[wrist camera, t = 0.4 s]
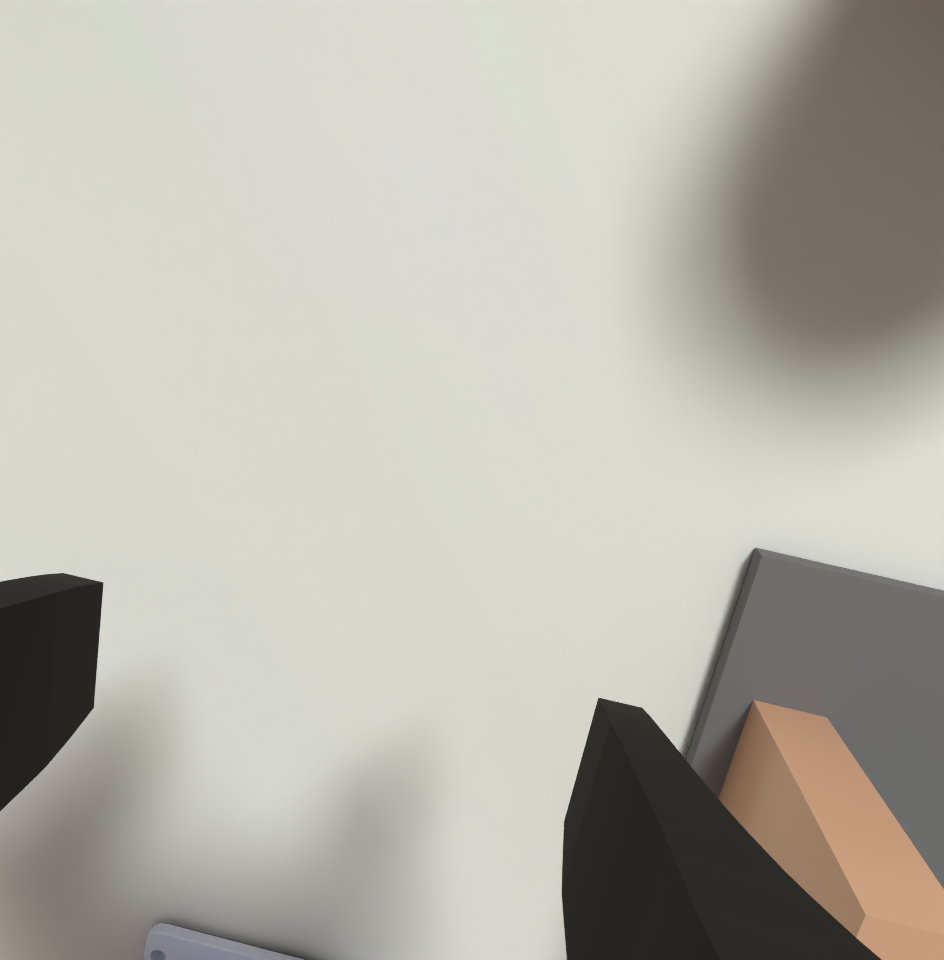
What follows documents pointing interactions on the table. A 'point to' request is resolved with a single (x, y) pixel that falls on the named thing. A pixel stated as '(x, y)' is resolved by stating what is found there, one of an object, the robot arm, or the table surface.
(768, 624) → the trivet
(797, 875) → the tile
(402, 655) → the table surface
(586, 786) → the robot arm
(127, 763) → the table surface
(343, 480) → the table surface
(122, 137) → the table surface
